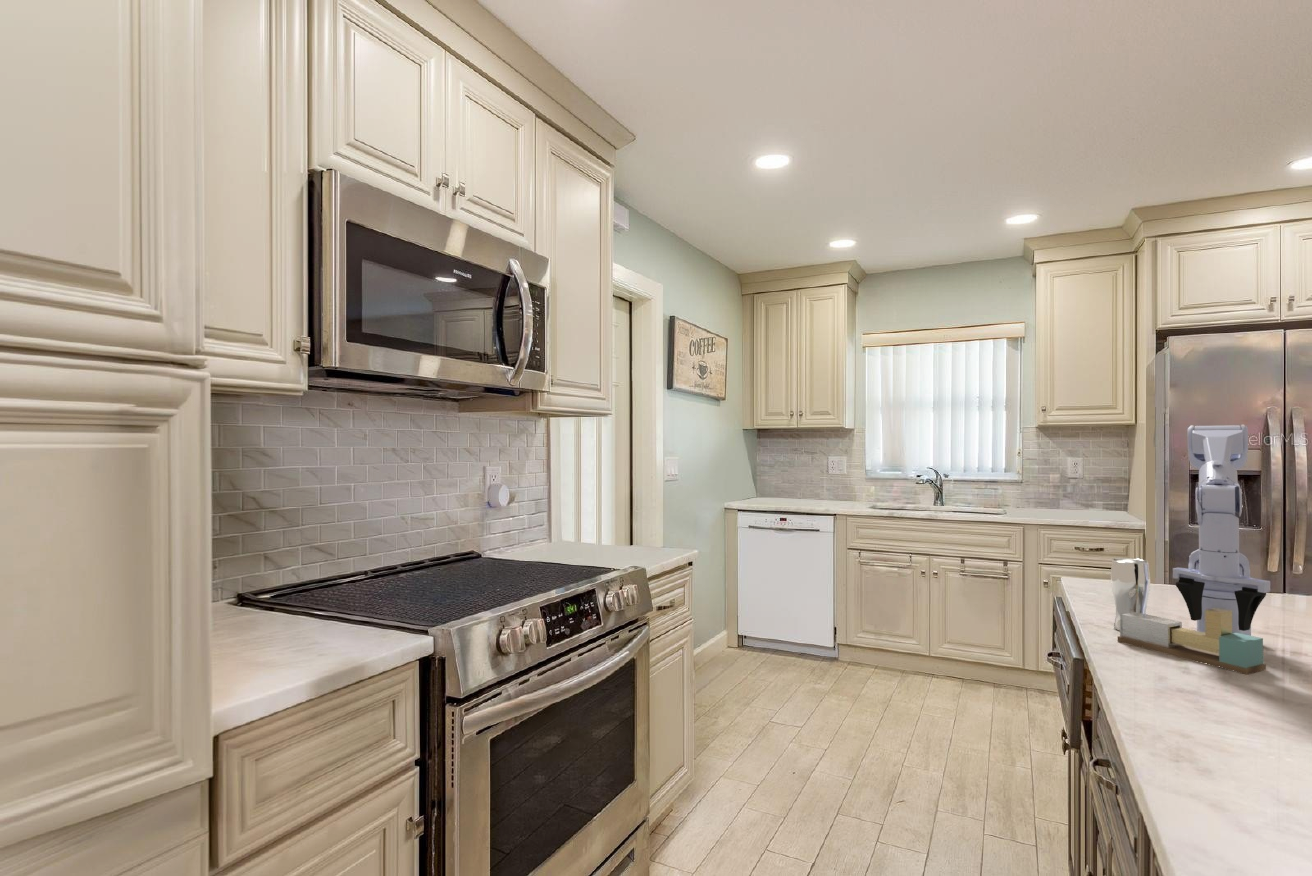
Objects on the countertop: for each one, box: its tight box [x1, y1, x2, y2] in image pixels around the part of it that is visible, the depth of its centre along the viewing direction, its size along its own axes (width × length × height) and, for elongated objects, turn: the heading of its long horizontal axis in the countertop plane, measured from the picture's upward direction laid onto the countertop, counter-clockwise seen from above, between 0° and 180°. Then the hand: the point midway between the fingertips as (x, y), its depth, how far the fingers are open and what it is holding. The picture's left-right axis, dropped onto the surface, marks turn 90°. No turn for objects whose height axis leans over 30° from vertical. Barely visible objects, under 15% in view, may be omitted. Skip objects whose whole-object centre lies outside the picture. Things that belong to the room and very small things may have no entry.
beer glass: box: [1110, 557, 1151, 631], centre depth 148 cm, size 7×7×15 cm
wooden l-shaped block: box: [1170, 608, 1232, 654], centre depth 129 cm, size 4×13×8 cm, turn 25°
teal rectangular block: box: [1219, 633, 1264, 668], centre depth 123 cm, size 6×4×4 cm
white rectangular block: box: [1119, 612, 1183, 648], centre depth 137 cm, size 4×9×4 cm, turn 25°
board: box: [1117, 635, 1267, 675], centre depth 131 cm, size 6×22×1 cm, turn 25°
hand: (1219, 624), depth 126 cm, fingers open, 7 cm apart
